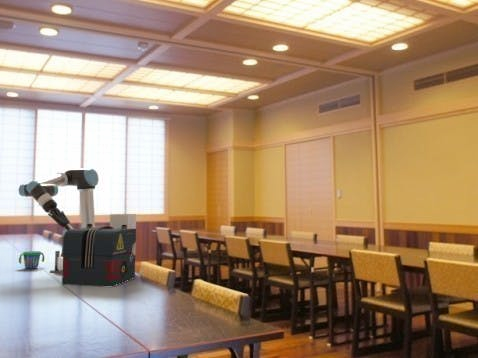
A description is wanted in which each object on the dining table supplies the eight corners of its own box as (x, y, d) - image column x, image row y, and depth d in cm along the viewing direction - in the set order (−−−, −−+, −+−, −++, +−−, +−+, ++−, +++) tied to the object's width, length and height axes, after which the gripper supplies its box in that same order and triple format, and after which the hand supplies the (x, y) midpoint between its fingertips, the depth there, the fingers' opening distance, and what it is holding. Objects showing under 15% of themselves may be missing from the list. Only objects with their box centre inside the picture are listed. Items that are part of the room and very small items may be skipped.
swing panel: (57, 269, 283) (57, 257, 283) (60, 268, 284) (60, 256, 285) (75, 272, 269) (76, 260, 269) (78, 272, 270) (79, 260, 271)
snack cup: (40, 266, 309) (41, 250, 309) (47, 267, 301) (47, 251, 302) (15, 268, 298) (16, 251, 298) (21, 270, 290) (22, 253, 291)
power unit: (112, 287, 237) (113, 226, 238) (61, 284, 242) (63, 225, 244) (135, 278, 264) (136, 224, 266) (89, 276, 270) (91, 223, 271)
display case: (108, 274, 278) (110, 214, 280) (117, 271, 288) (118, 213, 290) (126, 275, 275) (128, 214, 277) (134, 272, 286) (136, 214, 288)
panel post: (58, 270, 290) (59, 250, 291) (66, 271, 286) (67, 250, 286) (46, 272, 284) (47, 251, 284) (54, 273, 279) (55, 251, 280)
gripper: (49, 208, 277) (75, 237, 273) (36, 208, 264) (62, 239, 260) (58, 198, 276) (84, 228, 272) (45, 198, 263) (72, 229, 259)
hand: (73, 233), depth 266 cm, fingers closed
